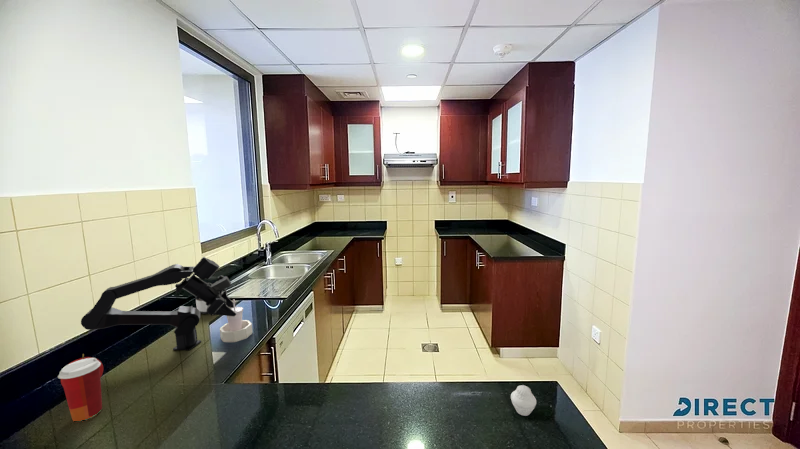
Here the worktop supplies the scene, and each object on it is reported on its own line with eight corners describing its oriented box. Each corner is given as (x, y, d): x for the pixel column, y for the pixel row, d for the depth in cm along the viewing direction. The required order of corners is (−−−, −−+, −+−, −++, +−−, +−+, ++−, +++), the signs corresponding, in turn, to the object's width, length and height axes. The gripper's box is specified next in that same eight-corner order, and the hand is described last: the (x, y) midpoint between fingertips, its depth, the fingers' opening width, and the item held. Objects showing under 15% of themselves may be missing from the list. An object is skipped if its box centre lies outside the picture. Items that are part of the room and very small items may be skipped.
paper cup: (104, 400, 88) (97, 353, 86) (110, 412, 83) (102, 363, 81) (64, 416, 82) (55, 366, 80) (67, 430, 77) (58, 378, 75)
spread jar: (201, 316, 143) (199, 292, 142) (192, 310, 150) (189, 287, 149) (228, 308, 153) (226, 285, 151) (218, 303, 160) (216, 281, 158)
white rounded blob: (534, 423, 77) (535, 397, 76) (508, 415, 80) (509, 389, 79) (537, 407, 82) (538, 383, 81) (512, 400, 85) (513, 376, 84)
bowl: (242, 342, 119) (241, 332, 119) (215, 342, 120) (214, 332, 119) (256, 329, 130) (255, 320, 129) (231, 329, 130) (230, 320, 130)
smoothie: (230, 338, 120) (227, 303, 118) (224, 333, 125) (221, 299, 123) (247, 332, 125) (245, 298, 123) (241, 327, 129) (238, 295, 127)
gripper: (214, 278, 111) (251, 302, 117) (216, 266, 127) (249, 287, 134) (190, 303, 108) (229, 326, 115) (195, 288, 125) (229, 309, 131)
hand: (235, 310), depth 124 cm, fingers open, 9 cm apart
